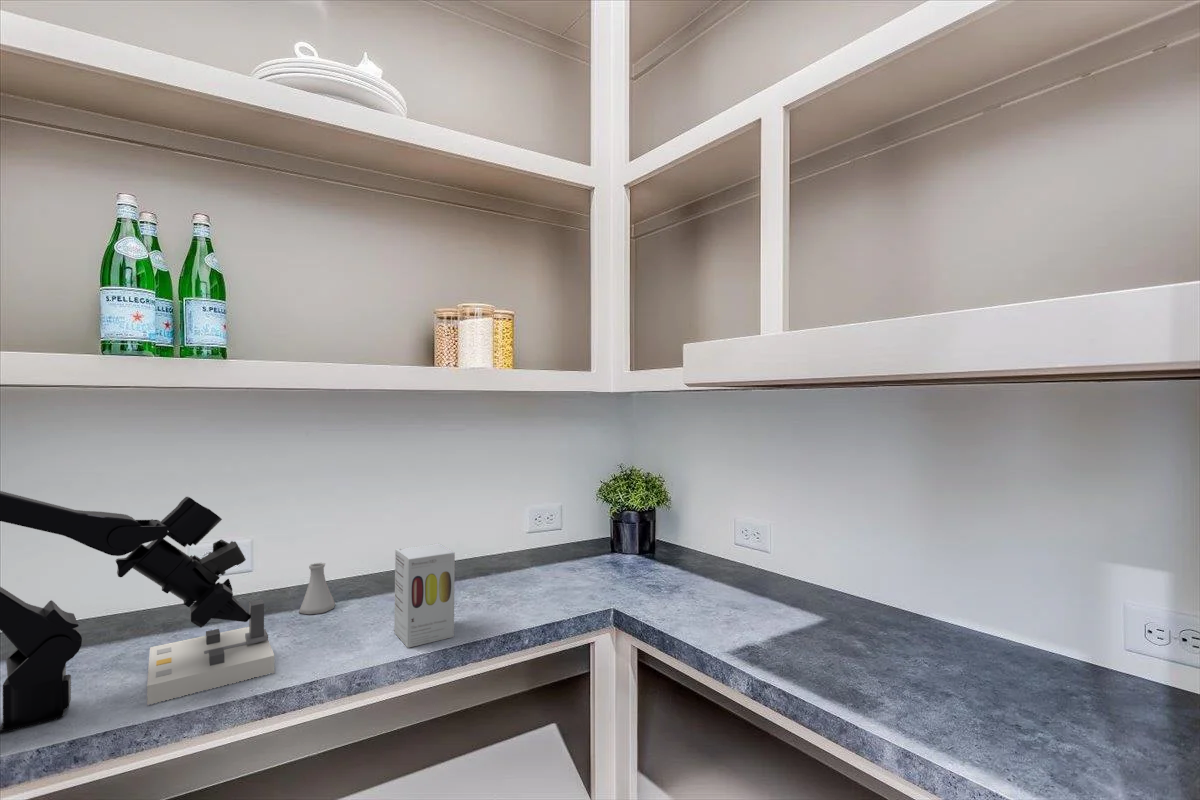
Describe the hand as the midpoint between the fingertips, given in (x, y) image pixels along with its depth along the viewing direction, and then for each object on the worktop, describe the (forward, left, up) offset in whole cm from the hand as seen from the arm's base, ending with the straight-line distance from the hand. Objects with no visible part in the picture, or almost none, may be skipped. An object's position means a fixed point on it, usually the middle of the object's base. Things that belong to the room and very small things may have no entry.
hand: (248, 619), depth 102 cm
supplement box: (+29, -9, -8) cm, 31 cm away
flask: (+15, +19, -8) cm, 26 cm away
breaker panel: (-6, 0, -7) cm, 9 cm away
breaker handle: (+1, 0, -4) cm, 4 cm away
